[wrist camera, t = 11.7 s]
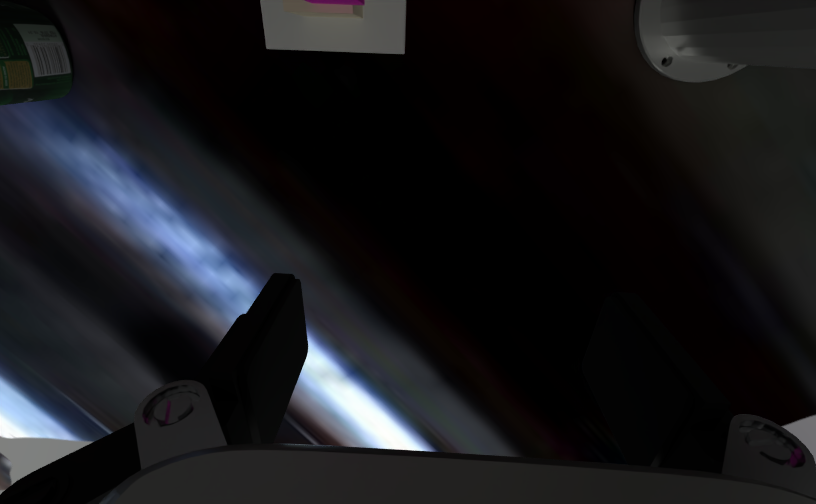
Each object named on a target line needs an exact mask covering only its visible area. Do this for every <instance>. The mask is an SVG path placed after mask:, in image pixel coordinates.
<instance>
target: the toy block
mask: <svg viewBox="0 0 816 504" xmlns="http://www.w3.org/2000/svg"><path fill="white" fill-rule="evenodd" d="M305 1H307V2H310V3H312V4H340V5H365V0H305Z"/></svg>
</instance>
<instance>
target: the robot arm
mask: <svg viewBox="0 0 816 504" xmlns="http://www.w3.org/2000/svg"><path fill="white" fill-rule="evenodd" d="M634 31H635V35H636V40H637V45H638V47H639V49H640V51H641V54H642V56H643V58H644V59H645V60H646V62H647V63H648V64H649V65H650V66H651V68H653V69H654V70H655V71H657V72H658V73H659V74H661V75H663V76H665V77H668V78H670V79H673V80H678V81H684V82H705V81H711V80H716V79H719V78H722V77H725V76H728V75H730V74H732V73H734V72H736V71H738V70H740V69H742V68H744V67H746V66H747V65H758V66H776V67H795V68H814V69H816V0H636V6H635V13H634ZM663 58H664V62H663V63H662V60H663ZM307 353H308V340H307V332H306V323H305V315H304V306H303V298H302V289H301V282H300V280H299V279H295V277H294V275H293V274H281V273H274V274H273V275H272V276H271V277H270V279H269V280H268V282H267V283H266V285H265V286H264V288H263V289H262V291H261V292H260V294H259V295H258V297H257V298H256V300H255V301H254V303H253V304H252V306H251V307H250V309H249V310H248V312H247V313H246V314H242V315H240V316H239V317H238V318H237V319H236V321H235V322H234V324H233V325H232V326H231V328H230V329H229V331H228V332H227V334H226V335H225V337H224V338H223V339H222V341H221V342H220V344H219V345H218V347H217V348H216V349H215V351H214V352H213V354H212V355H211V357H210V358H209V359H208V361H207V362H206V364H205V365H204V367H203V368H202V370H201V371H200V372H199V374H198V375H197V377H196V378H195V380H194V381H193V380H181V381H175V382H172V383H169V384H166V385H164V386H162V387H160V388H158V389H156V390H155V391H153V392H152V393H151V394H149V395H148V396H147V397H146V398H145V399H144V400H143V401H142V402H141V403H140V404H139V406H138V408H137V410H136V412H135V415H134V423H132V424H130V425H128V426H126V427H124V428H122V429H120V430H117V431H115V432H113V433H111V434H109V435H107V436H105V437H103V438H101V439H99V440H97V441H95V442H93V443H91V444H89V445H87V446H85V447H83V448H81V449H79V450H77V451H75V452H73V453H70V454H69V455H66V456H64V457H62V458H60V459H58V460H56V461H54V462H52V463H50V464H48V465H46V466H44V467H42V468H40V469H38V470H36V471H34V472H32V473H30V474H28V475H27V476H25V477H23V478H21V479H20V480H18V481H16V482H15V483H14V484H13V485H11V486H10V487H9V488H7V489H6V490H5V491H4V492H2V494H1V495H0V504H816V464H815V461H814V458H813V455H812V454H811V453H810V451H809V450H808V448H807V447H806V446H805V445H804V444H803V443H802V442H801V441H800V440H799V439H798V438H797V437H796V436H794V435H793V434H791V433H790V432H789V431H787V430H786V429H784V428H783V427H781V426H779V425H777V424H775V423H774V422H772V421H769V420H767V419H764V418H762V417H758V416H754V415H749V414H739V415H737V416H735V417H734V415H733V414H732V413H731V412H730V411H729V407H730V406H731V403H730V402H729V401H728V400H727V398H726V397H725V396H724V395H723V394H722V393H721V391H720V390H719V389H718V388H717V387H716V386H715V384H714V383H713V382H712V381H711V380H710V379H709V377H708V376H707V375H706V374H705V373H704V372H703V370H702V369H701V368H700V367H699V366H698V365H697V363H696V362H695V361H694V360H693V359H692V358H691V356H690V355H689V354H688V353H687V352H686V351H685V349H684V348H683V347H682V346H681V345H680V344H679V342H678V341H677V340H676V339H675V338H674V337H673V335H672V334H671V333H670V332H669V331H668V330H667V328H666V327H665V326H664V325H663V324H662V323H661V321H660V320H659V319H658V318H657V317H656V316H655V314H654V313H653V312H652V311H651V310H650V309H649V307H648V306H647V305H646V304H645V303H644V302H643V300H642V299H641V298H640V297H639V296H638V295H637V294H634V293H619V292H615V293H613V294H612V295H611V297H607V298H606V299H605V301H604V304H603V307H602V310H601V313H600V315H599V318H598V321H597V324H596V326H595V329H594V332H593V335H592V337H591V340H590V343H589V346H588V348H587V351H586V354H585V357H584V360H583V364H582V368H583V373H584V375H585V377H586V379H587V381H588V383H589V385H590V387H591V389H592V392H593V394H594V396H595V398H596V400H597V402H598V404H599V406H600V408H601V410H602V412H603V414H604V416H605V418H606V420H607V422H608V425H609V427H610V429H611V431H612V433H613V435H614V437H615V439H616V441H617V443H618V445H619V447H620V449H621V451H622V453H623V455H624V458H625V460H626V462H627V464H628V465H624V464H610V463H596V462H581V461H567V460H553V459H538V458H523V457H507V456H492V455H476V454H461V453H445V452H429V451H412V450H395V449H378V448H361V447H344V446H323V445H299V444H273V443H274V440H275V437H276V435H277V432H278V430H279V427H280V424H281V422H282V419H283V417H284V414H285V411H286V409H287V406H288V404H289V401H290V398H291V396H292V393H293V391H294V388H295V385H296V383H297V380H298V378H299V375H300V373H301V370H302V367H303V365H304V362H305V360H306V357H307Z"/></svg>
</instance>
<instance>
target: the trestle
mask: <svg viewBox="0 0 816 504" xmlns="http://www.w3.org/2000/svg"><path fill="white" fill-rule="evenodd" d="M260 2H261V9H262V17H263V25H264V32H265V40H266V48H267V49H287V50H313V51H338V52H364V53H389V54H405V26H406V0H365V5H340V4H312V3H310V2H307V1H305V0H260Z"/></svg>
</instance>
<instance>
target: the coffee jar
mask: <svg viewBox="0 0 816 504" xmlns="http://www.w3.org/2000/svg"><path fill="white" fill-rule="evenodd" d="M72 82H73V69H72V62H71V58H70V54H69V51H68V48H67V46H66V44H65V42H64V39H63V37H62V36H61V34H60V32H59V30H58V29H57V28H56V26H55V25H54V24H53V23H52V22H51V21H50V20H49V19H48V18H47V17H46V16H44V15H43V14H41V13H39V12H38V11H36V10H34V9H31V8H28V7H26V6H23V5H19V4H16V3H13V2H9V1H5V0H0V105H6V104H16V103H24V102H33V101H42V100H50V99H57V98H61V97H64V96H65V95H67V94H68V92H69V91H70V89H71V87H72Z"/></svg>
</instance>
